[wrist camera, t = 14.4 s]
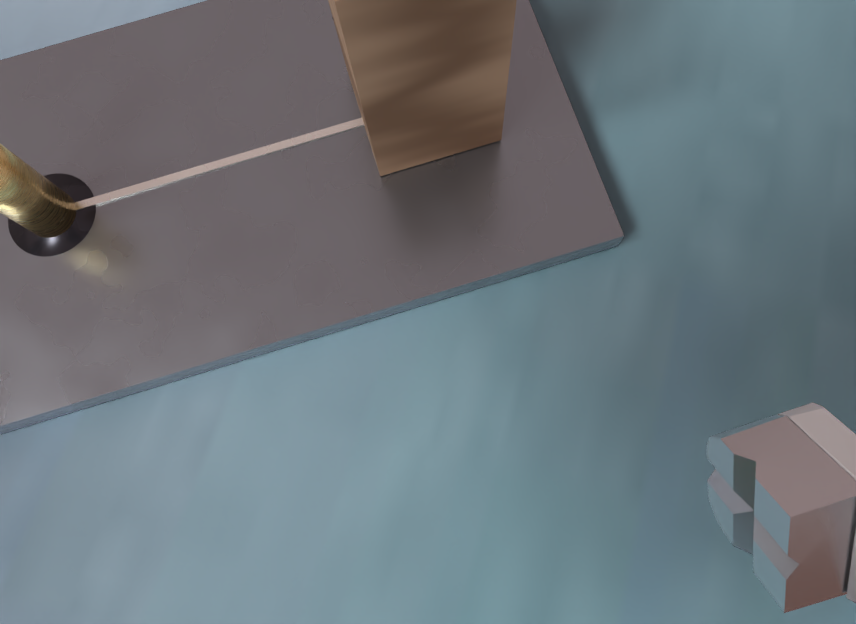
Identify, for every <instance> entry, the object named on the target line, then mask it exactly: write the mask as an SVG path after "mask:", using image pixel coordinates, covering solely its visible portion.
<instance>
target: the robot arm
mask: <svg viewBox="0 0 856 624" xmlns="http://www.w3.org/2000/svg"><path fill="white" fill-rule="evenodd" d="M706 449H707V459H708V460H709V461H710V462H711V464H712V465H713V466H714V467H715V470H714V471H713V473H712V474H711V476H710V477H709V479H708V480H707V487H708V499H709V502H710V505H711V508H712V511H713V514H714V517H715V519H716V520H717V522H718V524H719V526H720V528H721V529H722V531H723V533H724V534H725V535H726V537H727V538H728V539H729V541H730V542H731V544H732V545H733V546H734V547H737V548H739V549H741V550H743V551H745V552H748V553H750V554H752V555H753V573H754V574H755V575H756V577H757V578H758V579H759V581H760V582H761V583H762V585H763V586H764V587H765V589H766V590H767V591H768V592H769V594H770V595H771V596H772V598H773V599H774V600H775V602H776V603H777V604H778V606H779V607H780V608H781V609H782V611H783V612H784V613H786V612H789V611H793V610H796V609H799V608H802V607H806V606H809V605H812V604H816V603H819V602H822V601H825V600H829V599H832V598H835V597H838V596H842V595H845V594H847V595H846V598H848V599H849V600H851V601H853V602H855V603H856V434H855V433H854V432H852V431H851V430H850V429H849V428H848V427H846V426H845V425H844V424H843V423H842V422H841V421H839V420H838V419H837V418H836V417H835V416H833V415H832V414H831V413H830V412H829V411H827V410H826V409H825V408H824V407H823V406H821V405H818V404H815V403H810V404H807V405H804V406H801V407H798V408H795V409H792V410H788V411H785V412H782V413H779V414H778V415H772V416H769V417H766V418H763V419H760V420H757V421H754V422H751V423H748V424H745V425H742V426H739V427H736V428H733V429H730V430H727V431H724V432H721V433H718V434H715V435H712V436H710V437H709V440H708V442H707V444H706Z"/></svg>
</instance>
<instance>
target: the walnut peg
mask: <svg viewBox="0 0 856 624" xmlns="http://www.w3.org/2000/svg"><path fill="white" fill-rule="evenodd" d="M328 2H329V6H330V9H331V13H332V17H333V20H334V24H335V27H336V31H337V35H338V38H339V42H340V46H341V49H342V53H343V57H344V60H345V64H346V68H347V71H348V74H349V78H350V81H351V84H352V87H353V90H354V94H355V97H356V100H357V103H358V106H359V110H360V113H361V116H362V119H363V123H364V126H365V129H366V132H367V135H368V139H369V142H370V145H371V148H372V151H373V155H374V158H375V161H376V164H377V167H378V171H379V174H380V176H383V175H386V174H390V173H393V172H396V171H400V170H403V169H406V168H410V167H413V166H416V165H420V164H423V163H426V162H430V161H433V160H436V159H440V158H443V157H446V156H450V155H453V154H456V153H460V152H463V151H467V150H470V149H473V148H477V147H480V146H483V145H487V144H490V143H493V142H497V141H500V140H501V139H502V130H503V121H504V111H505V102H506V93H507V84H508V75H509V66H510V57H511V48H512V39H513V29H514V20H515V11H516V2H517V0H328Z"/></svg>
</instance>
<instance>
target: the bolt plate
mask: <svg viewBox="0 0 856 624" xmlns="http://www.w3.org/2000/svg"><path fill="white" fill-rule="evenodd" d="M623 237H624V234H623V231H622V229H621V226H620V224H619V222H618V219H617V217H616V214H615V212H614V209H613V207H612V204H611V202H610V199H609V197H608V194H607V192H606V189H605V187H604V185H603V182H602V180H601V177H600V175H599V172H598V170H597V167H596V165H595V162H594V160H593V157H592V155H591V152H590V150H589V147H588V145H587V143H586V140H585V138H584V135H583V133H582V130H581V128H580V125H579V123H578V120H577V118H576V115H575V113H574V110H573V108H572V106H571V103H570V101H569V98H568V96H567V93H566V91H565V88H564V86H563V83H562V81H561V78H560V76H559V73H558V71H557V68H556V66H555V64H554V61H553V59H552V56H551V54H550V51H549V49H548V46H547V44H546V41H545V39H544V36H543V34H542V31H541V29H540V27H539V24H538V22H537V19H536V17H535V14H534V12H533V9H532V7H531V4H530V2H529V0H517V2H516V11H515V20H514V29H513V39H512V48H511V57H510V66H509V75H508V84H507V93H506V102H505V111H504V121H503V130H502V139H501V140H500V141H497V142H493V143H490V144H487V145H483V146H480V147H477V148H473V149H470V150H467V151H463V152H460V153H456V154H453V155H450V156H446V157H443V158H440V159H436V160H433V161H430V162H426V163H423V164H420V165H416V166H413V167H410V168H406V169H403V170H400V171H396V172H393V173H390V174H386V175H383V176H380V174H379V171H378V167H377V164H376V161H375V158H374V155H373V151H372V148H371V145H370V142H369V139H368V135H367V132H366V129H365V126H364V123H363V119H362V116H361V113H360V110H359V106H358V103H357V100H356V97H355V94H354V90H353V87H352V84H351V81H350V78H349V74H348V71H347V68H346V64H345V60H344V57H343V53H342V49H341V46H340V42H339V38H338V35H337V31H336V27H335V24H334V20H333V17H332V13H331V9H330V6H329V2H328V0H207V1H204V2H200V3H197V4H194V5H190V6H187V7H183V8H180V9H176V10H173V11H169V12H166V13H163V14H159V15H156V16H152V17H149V18H145V19H142V20H138V21H135V22H131V23H128V24H125V25H121V26H118V27H114V28H111V29H107V30H104V31H100V32H97V33H93V34H90V35H87V36H83V37H80V38H76V39H73V40H69V41H66V42H62V43H59V44H55V45H52V46H49V47H45V48H42V49H38V50H35V51H31V52H28V53H24V54H21V55H18V56H14V57H11V58H7V59H4V60H0V434H3V433H7V432H10V431H13V430H16V429H20V428H23V427H26V426H30V425H33V424H36V423H39V422H43V421H46V420H49V419H53V418H56V417H59V416H62V415H66V414H69V413H72V412H75V411H79V410H82V409H85V408H89V407H92V406H95V405H98V404H102V403H105V402H108V401H111V400H115V399H118V398H121V397H125V396H128V395H131V394H134V393H138V392H141V391H144V390H148V389H151V388H154V387H157V386H161V385H164V384H167V383H170V382H174V381H177V380H180V379H184V378H187V377H190V376H193V375H197V374H200V373H203V372H207V371H210V370H213V369H216V368H220V367H223V366H226V365H229V364H233V363H236V362H239V361H243V360H246V359H249V358H252V357H256V356H259V355H262V354H266V353H269V352H272V351H275V350H279V349H282V348H285V347H288V346H292V345H295V344H298V343H302V342H305V341H308V340H311V339H315V338H318V337H321V336H324V335H328V334H331V333H334V332H338V331H341V330H344V329H347V328H351V327H354V326H357V325H361V324H364V323H367V322H370V321H374V320H377V319H380V318H383V317H387V316H390V315H393V314H397V313H400V312H403V311H406V310H410V309H413V308H416V307H420V306H423V305H426V304H429V303H433V302H436V301H439V300H442V299H446V298H449V297H452V296H456V295H459V294H462V293H465V292H469V291H472V290H475V289H479V288H482V287H485V286H488V285H492V284H495V283H498V282H501V281H505V280H508V279H511V278H515V277H518V276H521V275H524V274H528V273H531V272H534V271H537V270H541V269H544V268H547V267H551V266H554V265H557V264H560V263H564V262H567V261H570V260H574V259H577V258H580V257H583V256H587V255H590V254H593V253H596V252H600V251H603V250H606V249H610V248H613V247H616V246H618V245H619V243H620V242H621V240H622V239H623Z"/></svg>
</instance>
